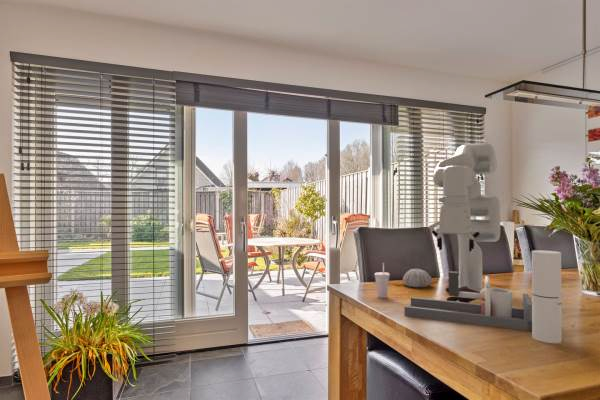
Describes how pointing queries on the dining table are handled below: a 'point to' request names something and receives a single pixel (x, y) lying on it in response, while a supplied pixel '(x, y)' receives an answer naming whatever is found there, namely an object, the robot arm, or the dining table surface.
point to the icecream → (461, 299)
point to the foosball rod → (456, 293)
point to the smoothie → (382, 283)
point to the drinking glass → (501, 302)
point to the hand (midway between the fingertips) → (455, 250)
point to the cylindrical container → (546, 296)
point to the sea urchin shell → (417, 278)
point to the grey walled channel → (472, 312)
